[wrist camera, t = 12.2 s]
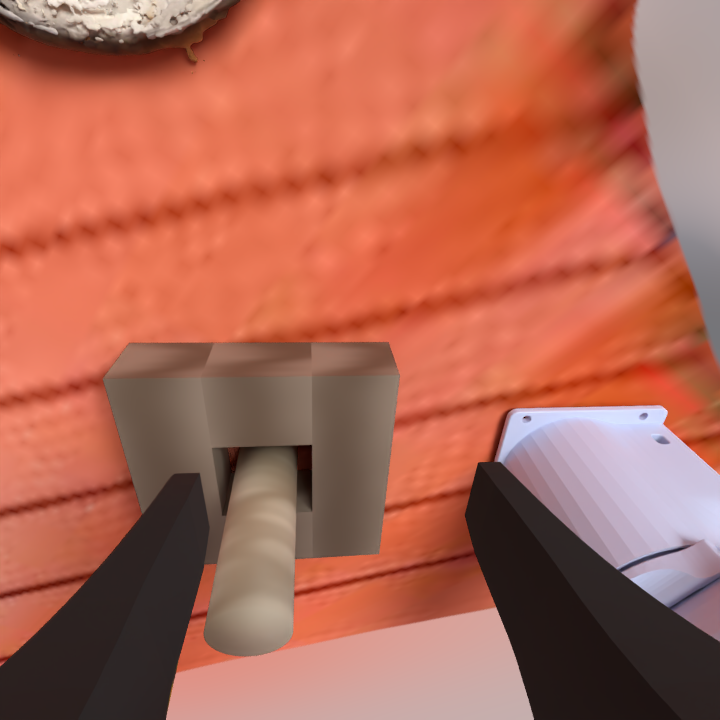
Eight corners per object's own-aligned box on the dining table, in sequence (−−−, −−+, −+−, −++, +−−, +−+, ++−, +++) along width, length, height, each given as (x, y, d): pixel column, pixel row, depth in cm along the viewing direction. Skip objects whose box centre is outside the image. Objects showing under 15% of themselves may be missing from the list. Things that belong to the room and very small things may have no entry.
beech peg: (297, 418, 23) (291, 604, 14) (298, 460, 24) (294, 652, 16) (239, 419, 23) (197, 611, 14) (244, 462, 24) (209, 659, 16)
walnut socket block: (388, 342, 21) (399, 375, 19) (372, 511, 27) (379, 554, 25) (129, 343, 20) (102, 378, 17) (172, 521, 26) (157, 567, 23)
